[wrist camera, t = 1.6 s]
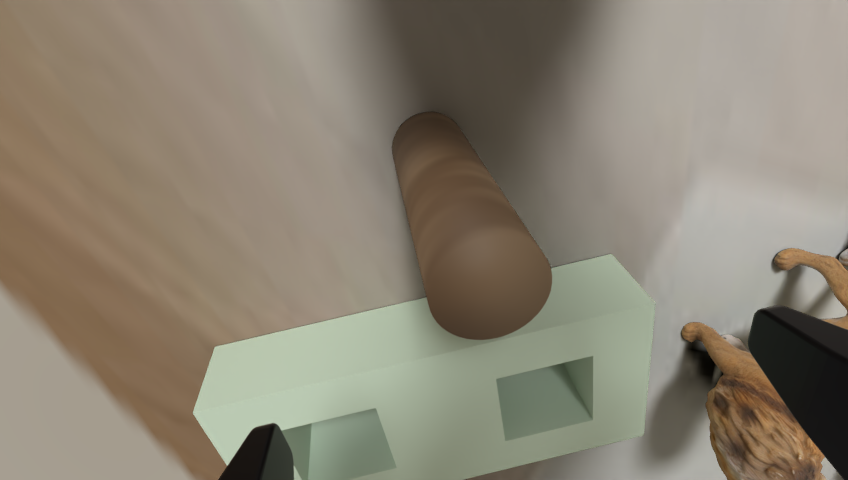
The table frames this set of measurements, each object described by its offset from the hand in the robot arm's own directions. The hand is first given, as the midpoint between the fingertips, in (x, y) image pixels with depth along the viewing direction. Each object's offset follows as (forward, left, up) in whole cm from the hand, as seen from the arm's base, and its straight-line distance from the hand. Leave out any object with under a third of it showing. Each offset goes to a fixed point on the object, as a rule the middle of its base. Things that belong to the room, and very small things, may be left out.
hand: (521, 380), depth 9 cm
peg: (0, 0, -13) cm, 13 cm away
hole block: (+2, +12, -13) cm, 18 cm away
